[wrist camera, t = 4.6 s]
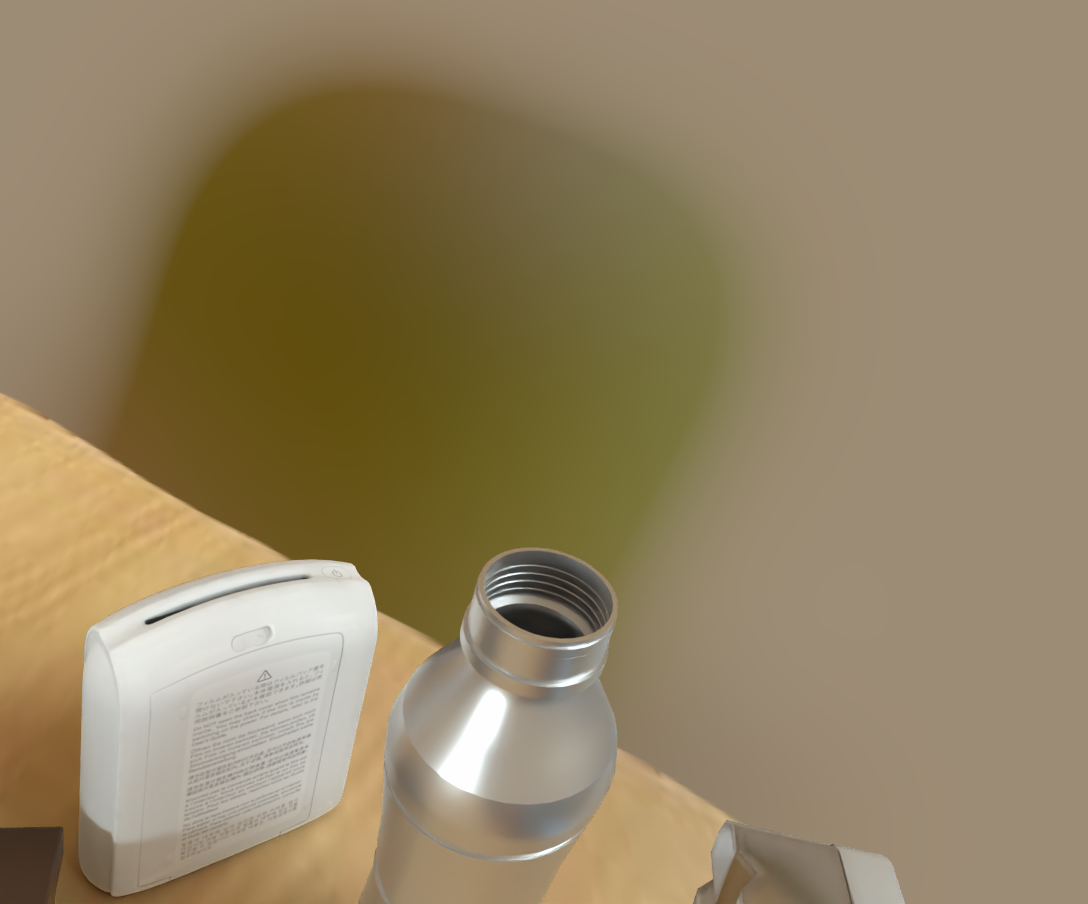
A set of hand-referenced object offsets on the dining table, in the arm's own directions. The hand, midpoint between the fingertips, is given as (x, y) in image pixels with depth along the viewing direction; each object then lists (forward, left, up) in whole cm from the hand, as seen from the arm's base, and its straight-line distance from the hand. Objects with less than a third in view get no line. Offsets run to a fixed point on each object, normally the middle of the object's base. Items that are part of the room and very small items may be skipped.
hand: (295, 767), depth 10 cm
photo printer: (-20, 0, -28) cm, 34 cm away
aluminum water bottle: (-12, +7, -28) cm, 31 cm away
